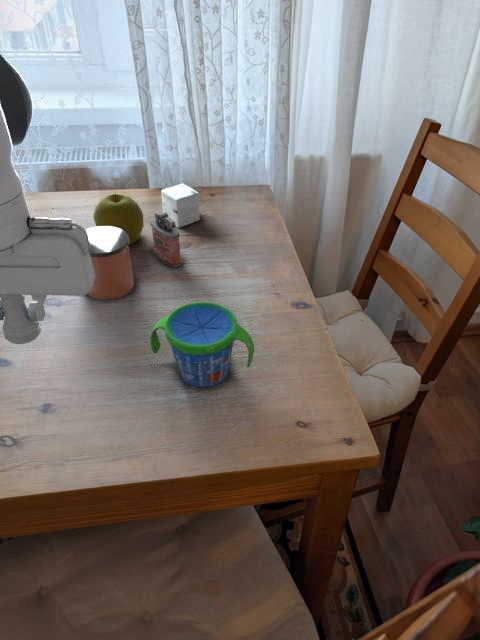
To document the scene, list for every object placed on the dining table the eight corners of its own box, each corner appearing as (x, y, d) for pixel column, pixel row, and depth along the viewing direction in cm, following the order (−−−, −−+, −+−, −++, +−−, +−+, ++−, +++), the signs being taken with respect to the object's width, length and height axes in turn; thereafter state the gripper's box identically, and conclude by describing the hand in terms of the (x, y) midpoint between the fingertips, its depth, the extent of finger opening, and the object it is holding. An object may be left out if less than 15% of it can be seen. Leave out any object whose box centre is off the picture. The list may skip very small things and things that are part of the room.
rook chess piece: (49, 330, 68) (35, 278, 63) (24, 350, 65) (7, 298, 59) (23, 319, 69) (7, 268, 64) (-4, 338, 66) (-23, 286, 61)
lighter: (150, 253, 107) (144, 208, 101) (164, 248, 109) (160, 204, 102) (171, 271, 103) (167, 225, 96) (185, 266, 105) (183, 220, 98)
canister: (79, 303, 94) (67, 253, 87) (88, 274, 101) (78, 225, 94) (132, 303, 95) (124, 253, 88) (138, 274, 102) (131, 226, 95)
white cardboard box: (163, 220, 118) (160, 189, 113) (185, 212, 121) (183, 182, 116) (178, 231, 115) (176, 199, 110) (200, 223, 118) (199, 192, 113)
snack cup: (142, 384, 80) (134, 333, 73) (171, 341, 87) (166, 291, 80) (239, 409, 77) (240, 358, 70) (260, 362, 84) (263, 313, 78)
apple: (89, 239, 111) (80, 190, 103) (130, 225, 116) (123, 178, 108) (113, 259, 105) (105, 209, 98) (155, 244, 110) (149, 195, 103)
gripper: (90, 206, 59) (107, 303, 68) (-100, 200, 57) (-57, 301, 67) (79, 234, 55) (98, 334, 64) (-129, 228, 53) (-78, 333, 62)
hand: (18, 317), depth 65 cm, fingers closed on rook chess piece, 3 cm apart
